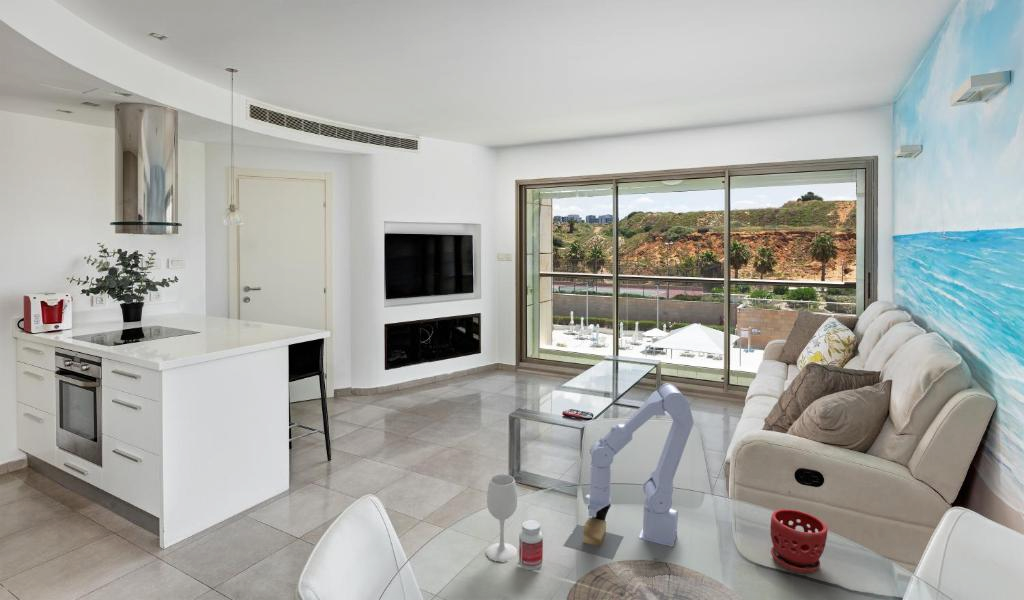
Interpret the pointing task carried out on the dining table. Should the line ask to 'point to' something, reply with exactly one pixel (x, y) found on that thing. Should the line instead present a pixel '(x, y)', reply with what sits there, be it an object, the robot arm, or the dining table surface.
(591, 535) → the oak block
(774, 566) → the dining table surface
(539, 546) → the pill bottle
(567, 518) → the dining table surface
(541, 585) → the dining table surface
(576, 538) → the mat
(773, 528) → the plant pot
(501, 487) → the wineglass
